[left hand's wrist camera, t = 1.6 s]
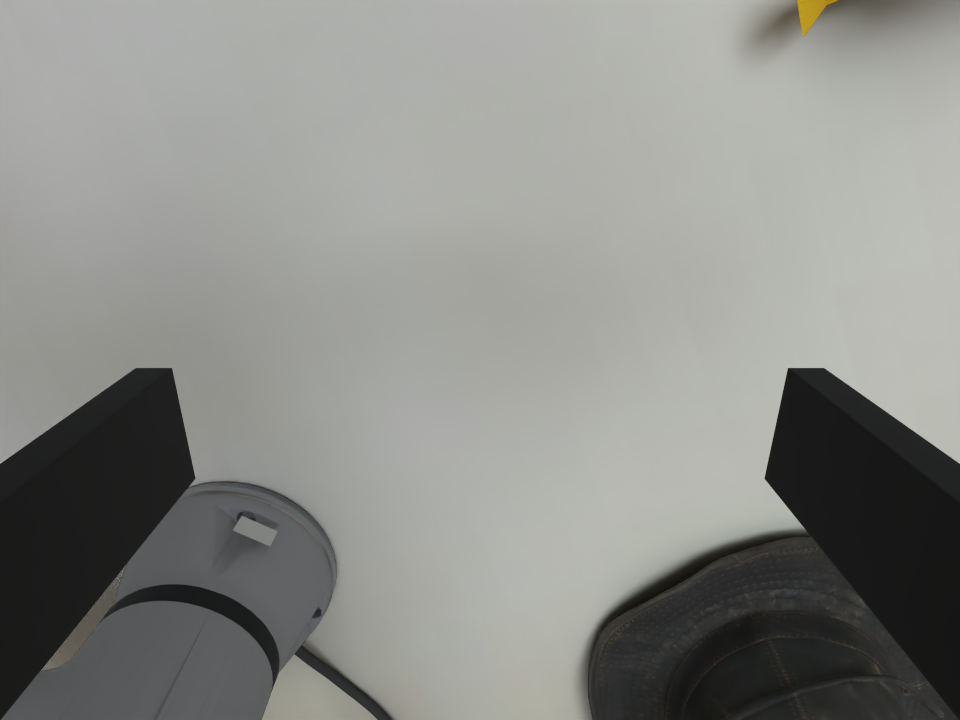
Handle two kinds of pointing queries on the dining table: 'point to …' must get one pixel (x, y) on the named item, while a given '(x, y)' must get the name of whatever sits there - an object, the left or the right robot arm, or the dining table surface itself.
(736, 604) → the hat
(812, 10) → the toy
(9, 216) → the dining table surface
